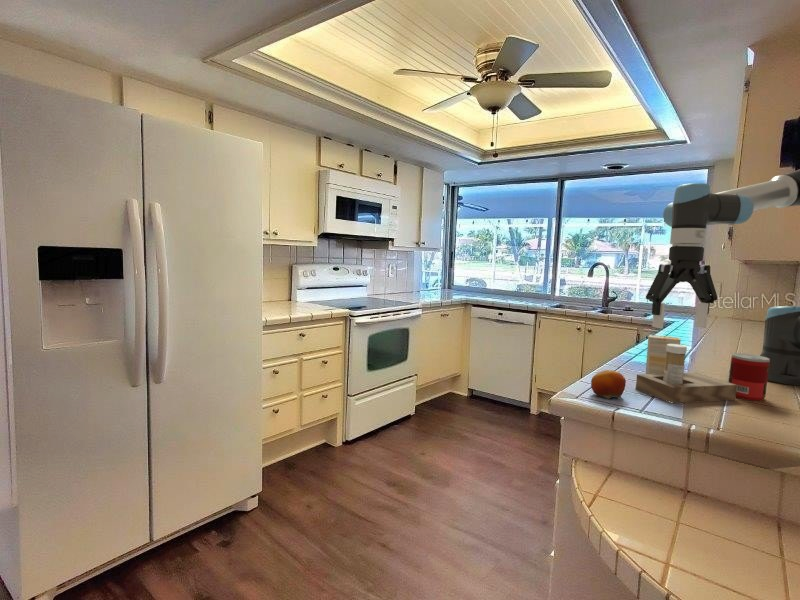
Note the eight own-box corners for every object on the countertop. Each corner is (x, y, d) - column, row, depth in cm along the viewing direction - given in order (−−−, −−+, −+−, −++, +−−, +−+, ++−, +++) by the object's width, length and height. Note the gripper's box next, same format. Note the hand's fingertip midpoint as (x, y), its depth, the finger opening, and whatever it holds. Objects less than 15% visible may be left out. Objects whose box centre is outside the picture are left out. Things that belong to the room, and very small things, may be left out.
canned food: (771, 402, 114) (776, 360, 113) (736, 399, 116) (741, 358, 114) (754, 393, 121) (759, 354, 120) (721, 390, 123) (726, 352, 122)
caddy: (694, 386, 127) (696, 372, 126) (735, 399, 115) (736, 384, 115) (635, 388, 122) (636, 374, 122) (671, 403, 110) (673, 387, 110)
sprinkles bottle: (663, 390, 121) (668, 342, 119) (683, 394, 118) (688, 345, 116) (659, 394, 118) (664, 344, 116) (679, 398, 114) (685, 347, 113)
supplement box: (677, 380, 132) (681, 337, 131) (676, 384, 128) (681, 339, 127) (645, 375, 137) (649, 333, 135) (644, 379, 133) (648, 336, 131)
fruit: (611, 399, 107) (601, 367, 111) (591, 405, 114) (582, 375, 118) (638, 397, 110) (628, 366, 113) (617, 404, 116) (607, 374, 120)
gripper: (657, 244, 107) (650, 330, 109) (739, 247, 113) (730, 329, 115) (634, 244, 114) (628, 325, 117) (712, 247, 120) (705, 324, 122)
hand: (679, 327), depth 116 cm, fingers open, 13 cm apart
